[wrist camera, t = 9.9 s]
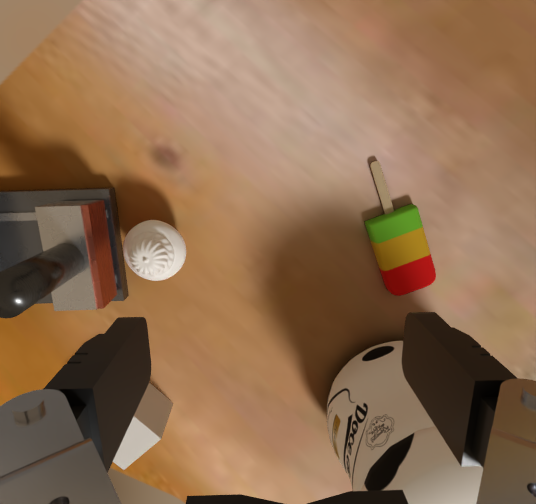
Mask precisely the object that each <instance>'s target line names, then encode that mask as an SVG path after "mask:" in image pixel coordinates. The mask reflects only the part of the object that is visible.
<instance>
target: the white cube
mask: <svg viewBox="0 0 536 504" xmlns="http://www.w3.org/2000/svg"><path fill="white" fill-rule="evenodd" d="M172 406H173V402H172V401H170V400H169V399H168V398H167V397H166V396H165V395H163V394H162V393H161V392H160V391H159V390H158V389H156V388H155V387H154V386H153V385H152V384H151V383H149V384H148V386H147V389H146V391H145V393H144V395H143V397H142V399H141V401H140V404H139V406H138V408H137V410H136V412H135V414H134V417H133V419H132V421H131V423H130V425H129V427H128V429H127V432H126V434H125V436H124V438H123V440H122V442H121V445H120V447H119V449H118V451H117V453H116V455H115V457H114V460H113V462H114V463H115V464H117V465H118V466H119V467H121V468H122V469H123V470H124V469H126V468H127V467H128V466H129V465H130V464H132V463H133V462H134V461H135V460H136V459H138V458H139V457H140V456H141V455H142V454H144V453H145V452H146V451H147V450H148V449H150V448H151V447H152V446H153V445H154V444H156V443H157V442H158V441H159V440H160V439H161V438H162V435H163V432H164V429H165V426H166V423H167V420H168V417H169V414H170V411H171V409H172Z"/></svg>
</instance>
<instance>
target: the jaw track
mask: <svg viewBox="0 0 536 504" xmlns="http://www.w3.org/2000/svg"><path fill="white" fill-rule="evenodd" d="M81 200H104V204H105V211H106V218H107V225H108V232H109V239H110V247H111V254H112V261H113V268H114V275H115V282H116V289H117V295H116V296H115V297H114V298H113V299H112V300H111V301H124V300H125V299H126V298H127V297H128V296H129V295H128V287H127V280H126V272H125V265H124V257H123V250H122V242H121V235H120V227H119V220H118V212H117V204H116V197H115V189H114V188H84V189H49V190H14V191H0V272H1V271H3V270H5V269H7V268H9V267H11V266H14V265H16V264H18V263H20V262H22V261H24V260H26V259H29V258H31V257H33V256H35V255H37V254H39V253H41V252H43V247H42V242H41V237H40V232H39V226H38V221H37V216H36V211H35V207H37V206H41V205H45V204H49V203H53V202H57V201H81ZM37 303H53V300H52V294H51V293H50V294H48V295H47V296H45V297H44V298H42V299H41V300H39V301H38V302H36V303H35V304H37Z"/></svg>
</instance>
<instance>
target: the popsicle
mask: <svg viewBox="0 0 536 504" xmlns="http://www.w3.org/2000/svg"><path fill="white" fill-rule="evenodd" d="M370 168H371V171H372V174H373V178H374V181H375V184H376V187H377V191H378V194H379V197H380V200H381V204H382V207H383V210H384V213H385V214H383V215H380V216H378V217H375V218H372V219H370V220H367V221H365V225H366V229H367V232H368V235H369V238H370V241H371V244H372V247H373V250H374V253H375V256H376V259H377V262H378V266H379V269H380V272H381V275H382V278H383V281H384V284H385V286H386V288H387V290H388V291H389V292H390V293H391V294H393V295H396V296H400V295H404V294H407V293H410V292H413V291H415V290H418V289H421V288H424V287H426V286H428V285H430V284H432V283H433V282H434V280H435V277H436V273H435V268H434V265H433V261H432V258H431V254H430V251H429V247H428V243H427V240H426V236H425V233H424V229H423V226H422V222H421V219H420V215H419V212H418V208H417V206H415V205H413V204H409V205H407V206H404V207H401V208H399V209H396V210H394V209H393V205H392V202H391V199H390V195H389V192H388V189H387V185H386V182H385V179H384V175H383V172H382V169H381V165H380V163H379V161H374V162H372V163H371V164H370Z"/></svg>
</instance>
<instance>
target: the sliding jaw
mask: <svg viewBox="0 0 536 504" xmlns="http://www.w3.org/2000/svg"><path fill="white" fill-rule="evenodd" d="M35 211H36V216H37V221H38V226H39V232H40V237H41V242H42V247H43V252H41V253H39V254H37V255H35V256H33V257H31V258H29V259H26V260H24V261H22V262H20V263H18V264H16V265H14V266H11V267H9V268H7V269H5V270H3V271H1V272H0V317H1V318H12V317H15V316H17V315H19V314H20V313H22V312H23V311H25V310H26V309H28V308H29V307H31V306H32V305H34V304H35V303H36V302H38V301H39V300H41V299H42V298H44V297H45V296H47V295H48V294H50V293H51V294H52V300H53V305H54V310H55V311H64V310H94V309H99V308H104V307H105V306H106V305H107V304H108V303H109V302H110V301H111V300H112V299H113V298H114V297H115V296H116V295H117V289H116V282H115V275H114V268H113V261H112V254H111V247H110V239H109V232H108V225H107V218H106V211H105V204H104V200H81V201H57V202H53V203H49V204H45V205H41V206H37V207H35Z"/></svg>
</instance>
